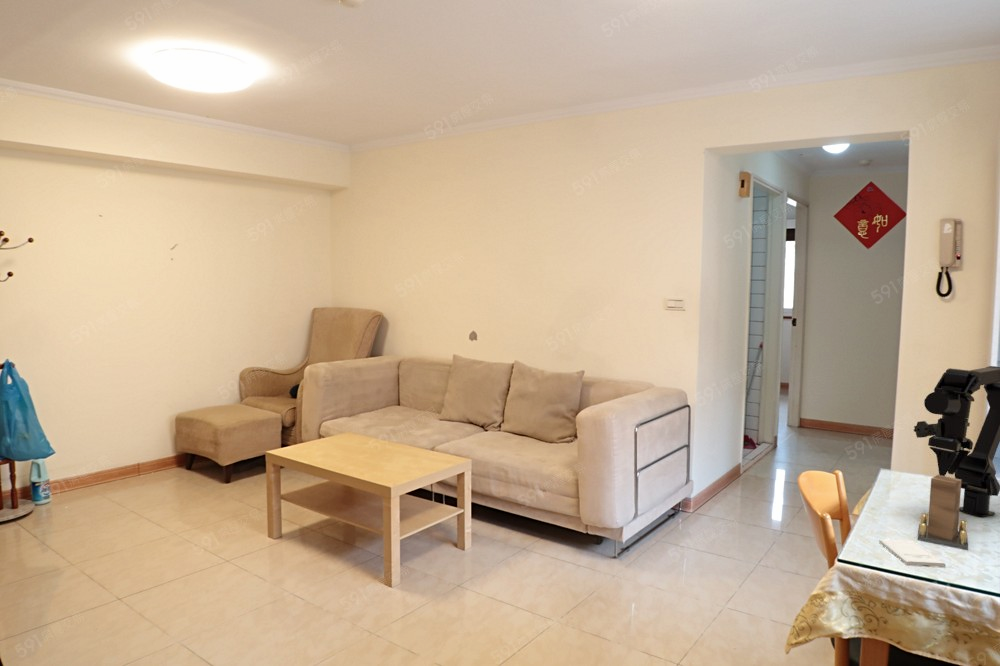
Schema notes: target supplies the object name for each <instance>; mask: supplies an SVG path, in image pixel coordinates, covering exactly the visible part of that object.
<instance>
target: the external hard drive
mask: <svg viewBox="0 0 1000 666" xmlns="http://www.w3.org/2000/svg"><path fill="white" fill-rule="evenodd" d="M878 543H879V544H880V545H881V544H882V545H883V546H884V547H883V546H882V545H881V546H882V547H883V548H885V547H886V548H887V549H888V550H889V551H888V550H887V549H886V548H885V549H886V550H887V551H888V552H890V551H891V552H892V553H893V554H895V555H896V556H897V557H898V558H899V559H898V558H897V557H896V556H895V555H894V556H895V557H896V558H897V559H898V560H900V559H901V560H902V561H903V562H904V563H905V565H906V566H910V565H919V566H918V567H929V566H939V567H938V568H946V563H945V562H944V561H942V560H941V559H939V558H938V557H937V556H935V555H934V554H933V553H931V552H930V551H929V550H928V549H926V548H924V547H923V546H922V545H920V544H919V543H917V542H916V541H915V540H904V539H888V538H887V539H886V538H880V539H879V542H878ZM891 552H890V553H891ZM892 553H891V554H892ZM893 554H892V555H893ZM901 560H900V561H901ZM902 561H901V562H902ZM903 562H902V563H903ZM904 563H903V564H904ZM923 565H925V566H923Z"/></svg>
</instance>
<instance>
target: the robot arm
mask: <svg viewBox="0 0 1000 666" xmlns="http://www.w3.org/2000/svg"><path fill="white" fill-rule="evenodd" d="M982 386H983V389H984V391H985V393H986V400H987V404H988V406H989V409H988V410H987V413H986V416H985V419H984V422H983V424H982V426H981V429H980V432H979V434H978V437H977V439H976V442H975V444H974V443H973V441H972V440H971V439H970V438H968V437H967V432H968V427H970V424H971V422H969V420H970V419H969V418H970V412H971V406H972V402H973V403H974V402H975V397H974V396H972V395H973V394H975V392H977V391H980V389H981V387H982ZM923 404H924V407H925V409H926V411H928V412H929V413H930V414H933V415H941V417H940V418H938V419H937V423H929V424H928V422H927V421H926V420H923V421H917V423H916V425H914V426H913V428H914V429H913V432H915V435H916V438H917V439H918V438H920V439H921V438H922V439H923V438H927V437H929V438H928V443H927V446H929V449H930V450H932V452H934V454H935V455H936V461H937V467H938V475H942V476H946V475H947V474H949V475H953V476H954V478H956V479H961V490H962V489H963V490H964V491H963V493H964V494H963V501H962V502H963V503H962V506H960V509H959V512H963V513H966V514H969V515H973V516H976V517H979V518H984V517H989V516H993V515H996V512H995V511H993V510H992V511H991V510H990V502H991V501H990V499H991V497H993V496H995V497H998V496H999V494H1000V482H999V481H998V479H997V476H996V474H997V470H996V468H995V465H994V462H993V460H994V458H995V455H996V452H997V450H998V447H999V445H1000V366H994V365H989V366H986V367H983V368H977V369H970V370H968V369H960V368H959V369H958V368H948V369H946V370H945V372H944V373H942V375H941V377H940V379H939V380H938V381H937V384H936V385H935V387H934V388H933V392H931V393H929V394H928V395H926V397H925V398H924V402H923ZM971 450H972V452H971Z"/></svg>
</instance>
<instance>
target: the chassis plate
mask: <svg viewBox="0 0 1000 666" xmlns="http://www.w3.org/2000/svg"><path fill="white" fill-rule="evenodd" d="M928 519H929V514H927V513H921V514H920V523H919V524H918V531H917V539H916V540H917V541H921V542H925V543H927V542H928V543H931V542H932V544H936V545H941V546H947V547H951V548H957V549H961V550H965V551H968V550H969V540H968V531H967V521H966V520H960V519H959V523H958V535H957V536H956V537H954V538H953V539H952V540H950V539H946V538H942V537H938V536H935V535H931V534H928Z"/></svg>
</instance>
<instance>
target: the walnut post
mask: <svg viewBox="0 0 1000 666" xmlns="http://www.w3.org/2000/svg"><path fill="white" fill-rule="evenodd" d="M961 491H962V488H961V479H956V478H955V477H950V476H946V475H945V476H942V475H939V474H936V475H935V476H932V477H931V479H930V491H929V505H928V520H927V525H928V534H931V535H935V536H938V537H942V538H946V539H950V540H952V539H953V538H954V537H956V536H957V535H958V531H959V522H960V511H959V509H960V507H961V506H960V505H961V494H962V493H961Z"/></svg>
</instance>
